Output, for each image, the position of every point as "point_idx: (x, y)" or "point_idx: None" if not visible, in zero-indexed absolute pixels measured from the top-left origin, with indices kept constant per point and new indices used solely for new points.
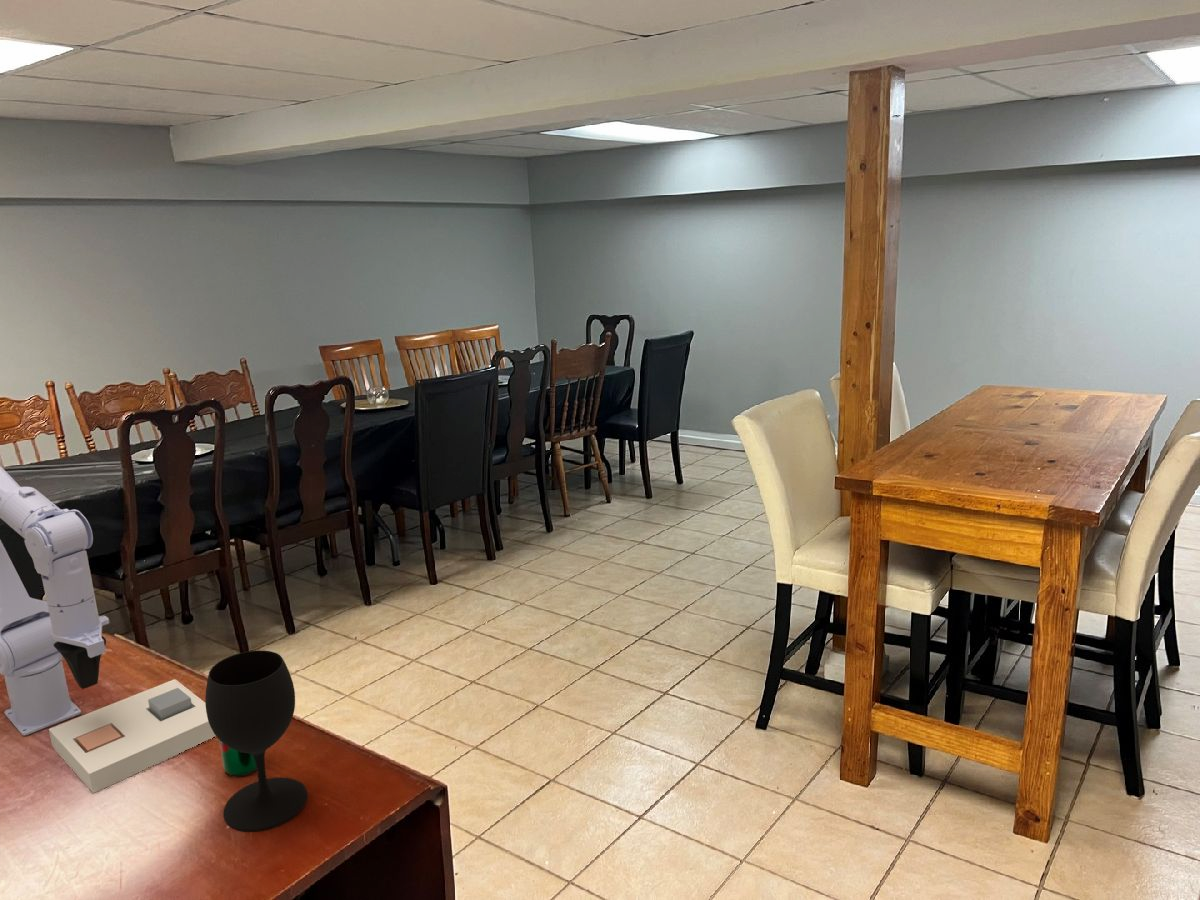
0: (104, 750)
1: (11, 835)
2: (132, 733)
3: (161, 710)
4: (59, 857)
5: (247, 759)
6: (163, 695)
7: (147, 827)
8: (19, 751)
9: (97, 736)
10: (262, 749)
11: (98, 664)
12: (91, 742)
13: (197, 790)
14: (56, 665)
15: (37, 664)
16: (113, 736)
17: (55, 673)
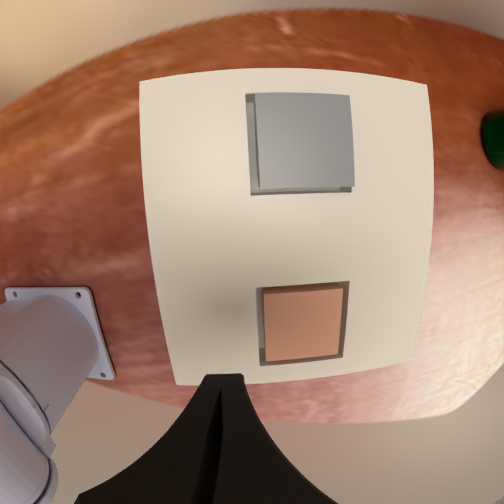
0: (366, 328)
1: (381, 420)
2: (351, 264)
3: (354, 183)
4: (459, 380)
5: None
6: (270, 143)
7: (500, 295)
8: (160, 392)
9: (297, 328)
10: None
11: (263, 429)
12: (312, 343)
13: (497, 217)
14: (18, 376)
15: (25, 421)
16: (329, 302)
17: (33, 371)
